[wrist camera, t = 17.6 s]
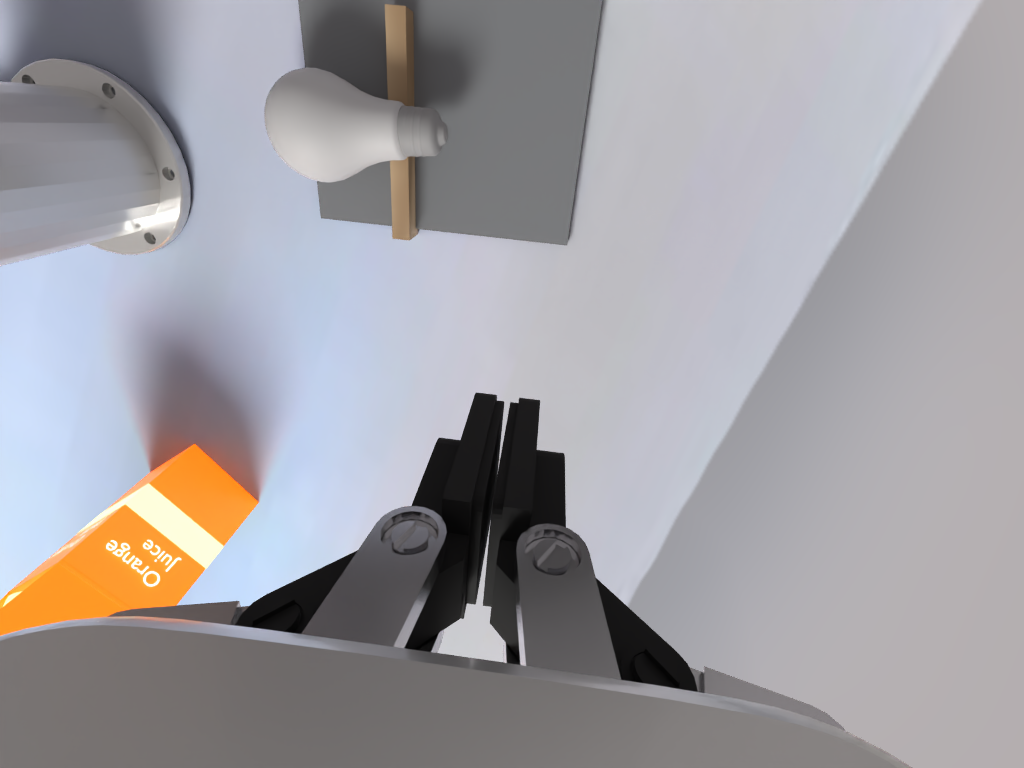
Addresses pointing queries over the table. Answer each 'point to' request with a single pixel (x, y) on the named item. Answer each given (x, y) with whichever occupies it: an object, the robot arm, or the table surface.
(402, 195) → the rail
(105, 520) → the orange juice
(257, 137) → the table surface
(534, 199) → the mat
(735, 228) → the table surface
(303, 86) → the lightbulb
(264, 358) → the table surface
